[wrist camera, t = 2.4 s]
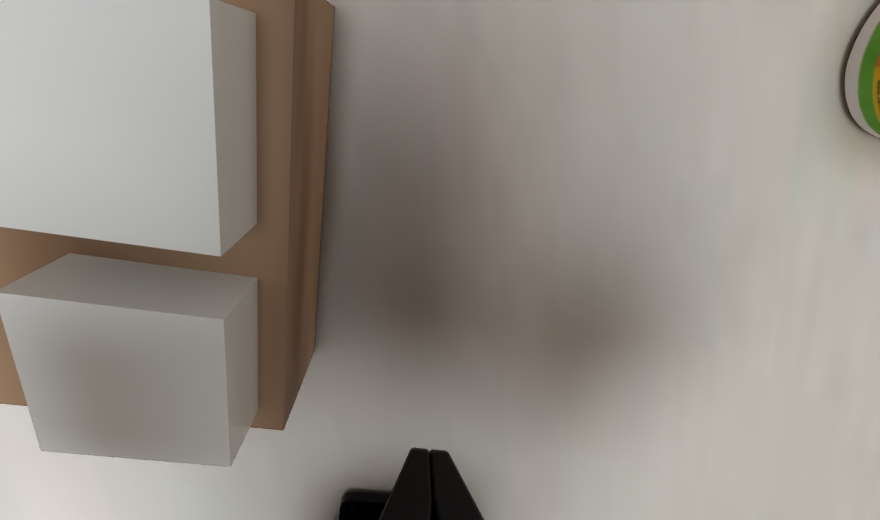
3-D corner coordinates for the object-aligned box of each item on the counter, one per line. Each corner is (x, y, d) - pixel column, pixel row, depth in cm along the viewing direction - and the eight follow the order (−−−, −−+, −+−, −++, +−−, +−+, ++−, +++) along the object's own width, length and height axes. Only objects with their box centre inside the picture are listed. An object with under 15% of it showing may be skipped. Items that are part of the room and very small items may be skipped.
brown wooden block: (334, 6, 12) (295, -23, 8) (314, 351, 17) (283, 430, 13) (-58, -73, 11) (-306, -147, 7) (41, 320, 16) (-75, 396, 12)
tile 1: (257, 277, 11) (223, 319, 9) (258, 409, 13) (230, 466, 11) (70, 253, 10) (-6, 292, 8) (98, 393, 12) (40, 450, 10)
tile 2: (256, 13, 8) (209, -3, 7) (257, 223, 10) (220, 256, 8) (11, -34, 8) (-114, -68, 6) (57, 194, 10) (-27, 222, 8)
